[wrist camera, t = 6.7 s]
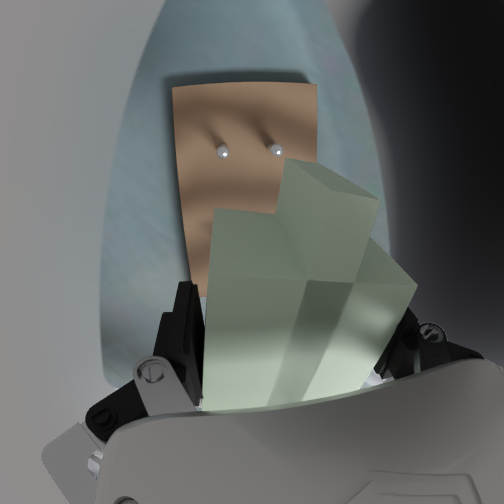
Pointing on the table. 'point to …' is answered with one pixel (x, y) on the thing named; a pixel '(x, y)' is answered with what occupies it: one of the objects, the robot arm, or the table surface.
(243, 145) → the pin plate
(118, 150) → the table surface
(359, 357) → the green grooved block
